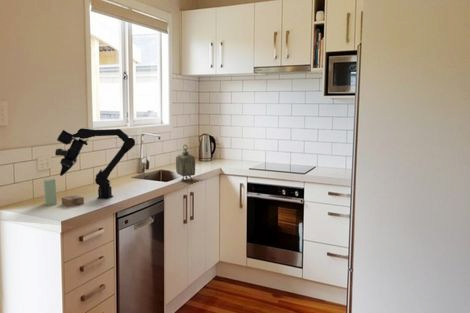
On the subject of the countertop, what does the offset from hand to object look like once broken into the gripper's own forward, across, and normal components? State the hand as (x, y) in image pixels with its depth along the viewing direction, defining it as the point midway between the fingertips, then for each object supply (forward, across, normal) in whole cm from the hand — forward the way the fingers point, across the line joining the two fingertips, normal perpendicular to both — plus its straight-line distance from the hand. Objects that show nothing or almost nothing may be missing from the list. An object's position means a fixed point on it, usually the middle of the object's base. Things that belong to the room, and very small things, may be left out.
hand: (62, 174), depth 217 cm
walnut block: (+10, +12, +12) cm, 20 cm away
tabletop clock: (-22, -40, +71) cm, 85 cm away
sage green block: (+15, +8, +2) cm, 17 cm away
